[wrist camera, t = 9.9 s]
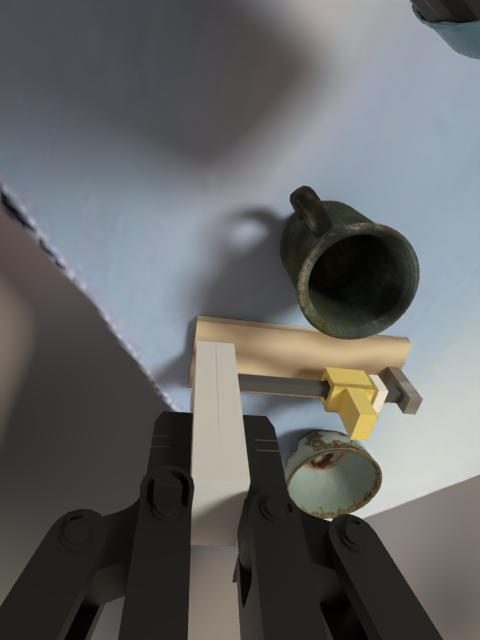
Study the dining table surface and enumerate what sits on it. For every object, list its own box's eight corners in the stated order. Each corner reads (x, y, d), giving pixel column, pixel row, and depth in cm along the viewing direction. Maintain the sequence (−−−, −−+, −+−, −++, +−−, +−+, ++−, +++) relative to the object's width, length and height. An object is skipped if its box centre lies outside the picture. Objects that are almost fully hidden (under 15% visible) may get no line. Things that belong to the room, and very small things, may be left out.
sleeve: (325, 367, 48) (347, 412, 41) (363, 370, 48) (391, 416, 41) (317, 391, 49) (337, 439, 42) (354, 394, 50) (379, 442, 43)
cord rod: (210, 370, 45) (210, 378, 44) (399, 387, 49) (404, 394, 47) (208, 380, 46) (208, 387, 44) (395, 396, 49) (400, 403, 48)
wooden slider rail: (197, 315, 47) (196, 350, 40) (407, 338, 52) (439, 373, 45) (189, 380, 52) (186, 422, 45) (382, 396, 56) (407, 437, 49)
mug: (305, 305, 48) (333, 360, 38) (240, 207, 42) (252, 240, 31) (384, 256, 46) (438, 300, 35) (328, 145, 39) (373, 158, 29)
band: (368, 374, 48) (379, 390, 46) (377, 375, 49) (388, 391, 46) (361, 394, 50) (370, 411, 47) (369, 395, 50) (379, 412, 47)
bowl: (333, 481, 64) (349, 527, 57) (260, 463, 61) (268, 509, 54) (378, 423, 59) (402, 465, 52) (301, 399, 55) (315, 441, 48)
